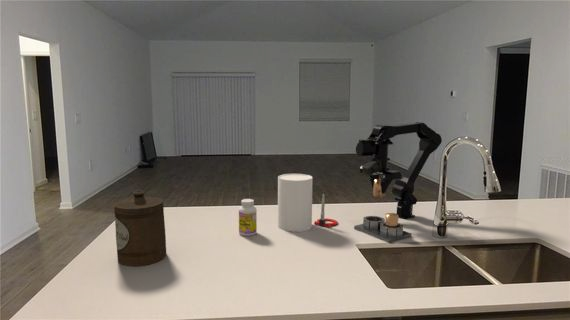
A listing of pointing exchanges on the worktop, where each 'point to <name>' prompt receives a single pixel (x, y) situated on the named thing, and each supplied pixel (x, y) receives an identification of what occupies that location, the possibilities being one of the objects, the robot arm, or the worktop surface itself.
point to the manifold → (383, 228)
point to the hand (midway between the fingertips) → (378, 192)
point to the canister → (295, 202)
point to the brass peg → (377, 188)
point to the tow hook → (322, 221)
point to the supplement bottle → (247, 218)
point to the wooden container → (140, 230)
